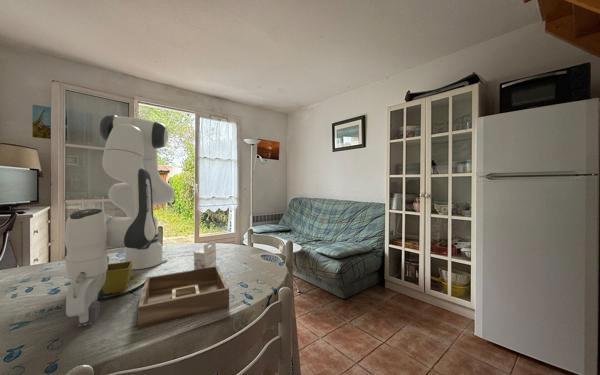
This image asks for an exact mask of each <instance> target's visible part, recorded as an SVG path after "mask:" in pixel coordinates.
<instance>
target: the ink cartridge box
mask: <svg viewBox="0 0 600 375" xmlns="http://www.w3.org/2000/svg"><path fill="white" fill-rule="evenodd" d="M193 266H194V267H193V270H196V269H202V268H209V267H215V266H217V246H216V240H212V241H210V242H208V243H205V244H204V245H203V247H202V248H200V249H198V250H196V251H193Z"/></svg>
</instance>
